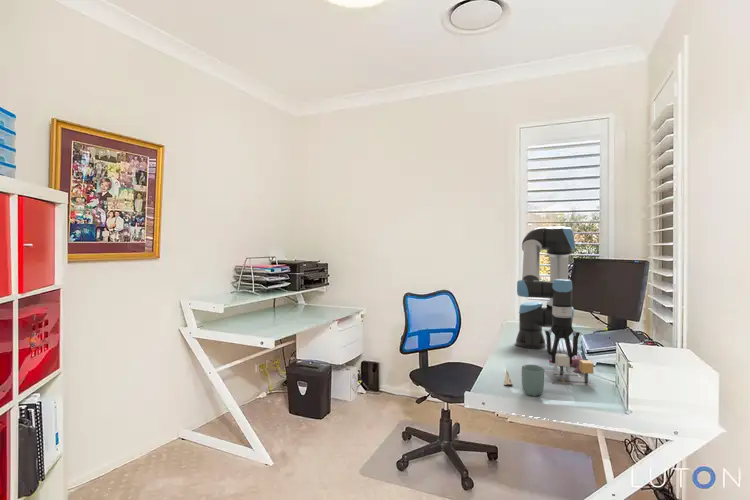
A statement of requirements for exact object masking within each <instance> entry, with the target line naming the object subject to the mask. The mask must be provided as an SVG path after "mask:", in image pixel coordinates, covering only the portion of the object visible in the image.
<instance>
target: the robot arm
mask: <svg viewBox="0 0 750 500" xmlns="http://www.w3.org/2000/svg"><path fill="white" fill-rule="evenodd" d="M521 250H522V251H523V258H522V272H521V273H522V275H521V277H522V278H521V279H520V280H517V282H516V293H517V296H518V297H522V298H537V299H538V298H541V299H542V298H544V299H549V300H548V301H547V302H546V304H544V305H543V302H541V301H528V302H524V303H520V305H519V312H518V314H519V317H518V318H519V320H518V321H519V322H518V323H519V324H518V327H519V328H518V329H519V330H518V334H517V336H516V338H515V345H516V346H518V347H521V348H525V349H526V348H527V349H534V350H535V349H544V348H545V347H546V353H547V355H550V356H551V359H550V360H551V363H552V364H553V371H555V372H557V371H558V365H557V356H556V353H557V352H558V346H559V342H560V339H563V340H564V341H565V342H564V343H565V347H566V352H567V354H566V355H567V356H568V366H565V372H568V373H570V372H571V370H570V367H571V366H570V364H572V361H573V358H574V356H575V357H577V356H578V345H579V344H578V343H579V337H580V331H577V330H574V329H573V321H574V313H575V309H574V307H573V288H574V287H573V281H572V279H569V256H571V255H572V254H573V253H572V252H573V251H575V250H576V243H575V234H574V230H573V228H571V227H569V226H547V227H544V226H542V227H536V228H534V229H532V230H531V231H529V232H528V233H527V234H526V235H525V236H524V238H523V239H522V243H521ZM542 250H543V251H545V250H546V253H547V255H548V256H549V257H550V258H549V263H550V265H549V267H550V269H549V271H550V272H549V280H540V273H541V272H540V270H541V269H540V268H541V267H540V263H541V262H540V261H541V259H540V258H541V257H540V256H541V255H540V254H541V251H542ZM543 328H550V329H545V330H544V333H545V336H544V334H543ZM552 333H553V335H554V339H553V345H552V342H551V341H552V340H551V339H552V337H551V335H552ZM571 335H572V345H571V342H570V340H571V339H570V336H571ZM545 337H546V339H545ZM571 346H572V348H571Z"/></svg>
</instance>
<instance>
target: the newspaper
mask: <svg viewBox="0 0 750 500" xmlns="http://www.w3.org/2000/svg"><path fill="white" fill-rule="evenodd" d="M505 371H506V372H505V376H504V386H505V385H506V386H508V385H513V383H512V380H511V377H510V375H509V372H508V370H507V369H506V370H505Z"/></svg>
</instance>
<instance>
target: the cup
mask: <svg viewBox="0 0 750 500" xmlns="http://www.w3.org/2000/svg"><path fill="white" fill-rule="evenodd" d="M544 371H545V369H544V367H542V366H539V365H536V364H524V365H522V366H521V386H522V390H523V392H524V393H525V394H526V395H529V396H531V395H532V396H531V397H537V395H538V396H540V395H541V394H543V391H544V388H545V372H544Z"/></svg>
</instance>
